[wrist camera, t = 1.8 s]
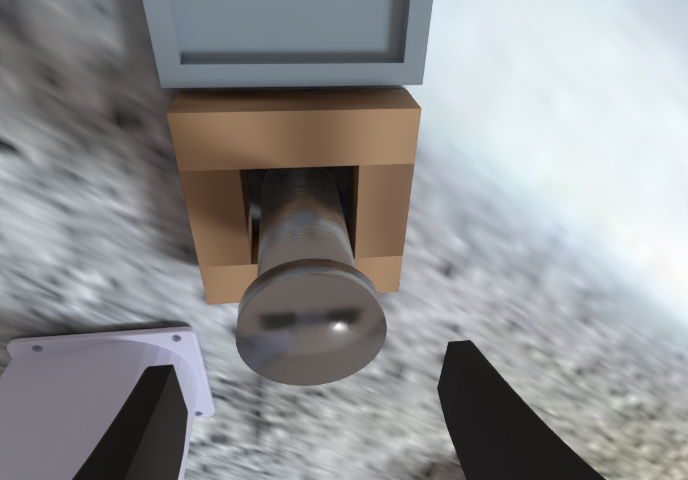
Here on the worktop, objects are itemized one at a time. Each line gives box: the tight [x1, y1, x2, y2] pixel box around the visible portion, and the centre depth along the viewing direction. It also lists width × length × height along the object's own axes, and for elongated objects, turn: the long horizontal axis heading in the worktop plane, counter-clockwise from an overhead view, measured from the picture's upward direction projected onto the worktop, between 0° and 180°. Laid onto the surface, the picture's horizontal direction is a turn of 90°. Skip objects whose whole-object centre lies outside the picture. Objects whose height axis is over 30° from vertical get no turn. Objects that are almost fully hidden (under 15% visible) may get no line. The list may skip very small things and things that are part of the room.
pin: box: [236, 166, 387, 386], centre depth 16 cm, size 4×4×9 cm
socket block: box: [166, 89, 421, 305], centre depth 19 cm, size 9×9×2 cm
